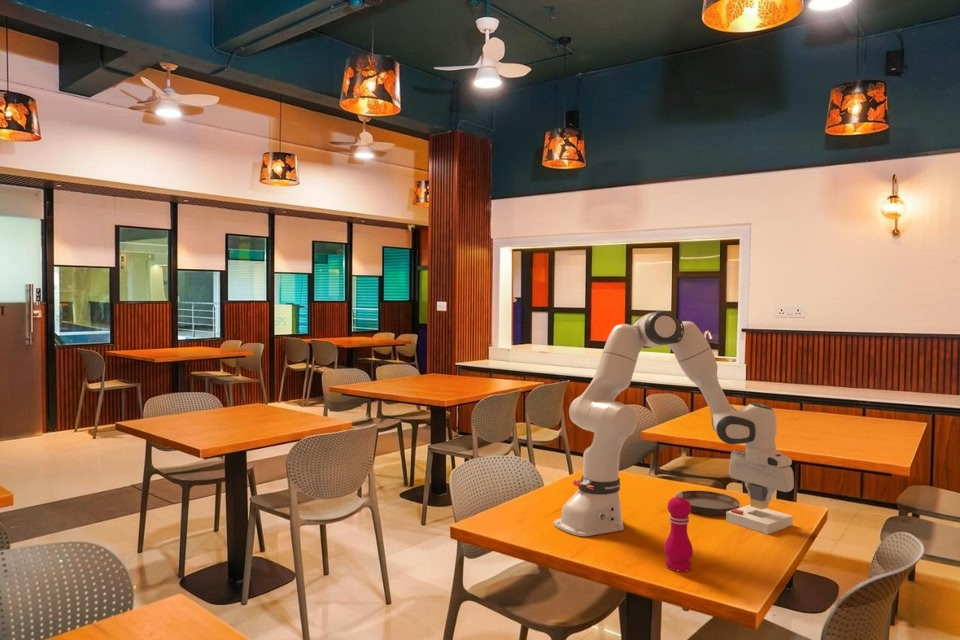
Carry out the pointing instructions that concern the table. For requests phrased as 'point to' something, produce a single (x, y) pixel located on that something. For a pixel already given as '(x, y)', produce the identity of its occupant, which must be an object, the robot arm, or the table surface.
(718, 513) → the plant saucer
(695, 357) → the robot arm
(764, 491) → the plug
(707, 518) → the table surface
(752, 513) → the socket plate
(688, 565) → the pepper mill
